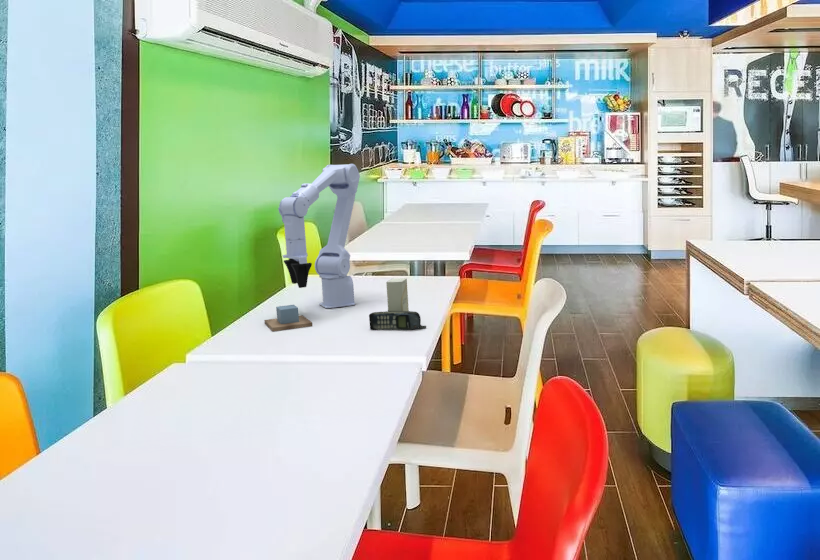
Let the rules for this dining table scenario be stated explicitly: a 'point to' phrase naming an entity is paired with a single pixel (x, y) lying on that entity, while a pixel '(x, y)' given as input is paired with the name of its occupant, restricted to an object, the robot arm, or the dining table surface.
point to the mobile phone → (395, 320)
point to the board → (288, 324)
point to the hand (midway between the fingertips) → (299, 285)
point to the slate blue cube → (287, 314)
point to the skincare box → (397, 294)
